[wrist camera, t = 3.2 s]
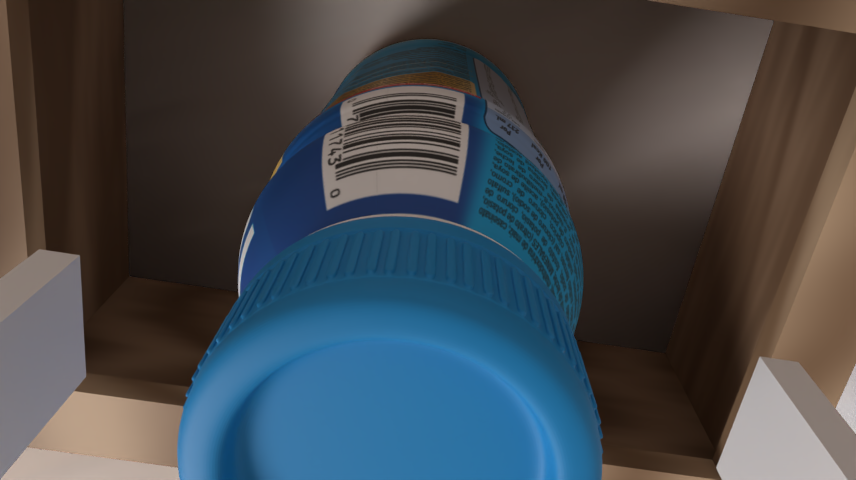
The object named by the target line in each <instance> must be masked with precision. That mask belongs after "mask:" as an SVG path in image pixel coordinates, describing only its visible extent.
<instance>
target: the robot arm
mask: <svg viewBox="0 0 856 480" xmlns="http://www.w3.org/2000/svg"><path fill="white" fill-rule="evenodd" d="M85 377H86V364H85V344H84V325H83V306H82V287H81V268H80V255H75V254H68V253H61V252H55V251H48V250H41V249H39V250H38V251H36V252H35V253H34V254H32V255H31V256H30V257H28V258H27V259H26V260H24V261H23V262H22V263H20V264H19V265H18V266H16V267H15V268H14V269H12V270H11V271H10V272H8V273H7V274H6V275H4V276H3V277H2V278H0V479H1V478H2V476H3V475H4V474H5V473H6V472H7V470H8V469H9V468H10V467H11V466H12V464H13V463H14V462H15V461H16V460H17V459H18V457H19V456H20V455H21V454H22V453H23V451H24V450H25V449H26V448H27V447H28V445H29V444H30V443H31V442H32V441H33V439H34V438H35V437H36V436H37V435H38V433H39V432H40V431H41V430H42V429H43V428H44V426H45V425H46V424H47V423H48V422H49V420H50V419H51V418H52V417H53V416H54V414H55V413H56V412H57V411H58V410H59V408H60V407H61V406H62V405H63V404H64V402H65V401H66V400H67V399H68V398H69V397H70V395H71V394H72V393H73V392H74V391H75V389H76V388H77V387H78V386H79V385H80V383H81V382H82V381H83V380H84V379H85ZM716 469H717V471H718V473H719V475H720V477H721V479H722V480H856V434H855V433H854V431H853V430H852V429H851V428H850V426H849V425H848V424H847V423H846V421H845V420H844V419H843V418H842V416H841V415H840V414H839V412H838V411H837V410H836V409H835V407H834V406H833V405H832V404H831V402H830V401H829V400H828V399H827V397H826V396H825V395H824V394H823V392H822V391H821V390H820V389H819V387H818V386H817V385H816V384H815V382H814V381H813V380H812V378H811V377H810V376H809V375H808V373H807V372H806V371H805V370H804V368H803V367H802V366H801V365H800V363H799V362H794V361H788V360H781V359H774V358H767V357H761V356H760V357H759V360H758V362H757V365H756V367H755V370H754V372H753V375H752V377H751V380H750V383H749V385H748V388H747V390H746V393H745V395H744V398H743V400H742V403H741V406H740V408H739V411H738V413H737V416H736V418H735V421H734V423H733V426H732V429H731V431H730V434H729V436H728V439H727V441H726V444H725V446H724V449H723V452H722V454H721V457H720V459H719V462H718V464H717V467H716Z"/></svg>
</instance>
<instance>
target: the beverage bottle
mask: <svg viewBox="0 0 856 480" xmlns="http://www.w3.org/2000/svg"><path fill="white" fill-rule="evenodd" d="M238 293H239V298H238V300H237V301H236V302H235V304H234V305H233V307H232V309H231V311H230V312H229V314H228V315H227V316H226V318H225V320H224V322H223V323H222V325H221V327H220V328H219V330H218V332H217V334H216V335H215V337H214V339H213V340H212V342H211V344H210V346H209V347H208V349H207V351H206V352H205V354H204V356H203V358H202V359H201V361H200V363H199V364H198V368H197V370H196V371H195V373H194V375H193V377H192V381H193V382H192V384H191V386H190V387H189V389H188V391H187V393H186V397H188V398H187V400H186V402H185V404H184V406H183V413H182V417H181V421H180V426H179V433H178V444H177V459H178V470H179V477H180V480H602V453H603V449H602V445H601V441H600V439H602V438H603V434H602V431H601V428H600V424H601V420H600V417H599V414H598V411H597V404H596V401H595V398H594V395H593V392H592V388H591V385H590V382H589V379H588V375H587V372H586V369H585V366H584V363H583V359H582V356H581V353H580V351H579V348H578V345H577V342H576V339H575V337H574V332H575V329H576V325H577V322H578V318H579V313H580V308H581V302H582V295H583V261H582V254H581V248H580V243H579V239H578V235H577V232H576V229H575V226H574V223H573V221H572V218H571V216H570V212H569V207H568V202H567V199H566V195H565V191H564V188H563V185H562V183H561V180H560V178H559V175H558V173H557V171H556V169H555V167H554V165H553V163H552V161H551V159H550V158H549V156H548V154H547V153H546V151H545V150H544V148H543V147H542V146H541V144H540V143H539V142H538V140H537V139H536V138H535V136H534V134H533V131H532V129H531V127H530V125H529V122H528V120H527V116H526V113H525V110H524V107H523V105H522V102H521V100H520V98H519V96H518V94H517V92H516V90H515V89H514V87H513V85H512V84H511V82H510V81H509V80H508V78H507V77H506V76H505V75H504V74H503V73H502V71H501V70H500V69H499V68H498V67H496V66H495V65H494V64H493V63H492V62H491V61H489V60H488V59H487V58H485V57H484V56H482V55H481V54H479V53H477V52H475V51H474V50H471V49H469V48H467V47H465V46H462V45H459V44H456V43H453V42H448V41H443V40H436V39H416V40H409V41H404V42H399V43H396V44H393V45H390V46H387V47H385V48H383V49H381V50H379V51H377V52H375V53H373V54H372V55H370V56H369V57H367V58H366V59H364V60H363V61H362V62H360V63H359V64H358V65H357V66H356V67H355V68H354V69H353V70H352V71H351V72H350V73H349V74H348V75H347V77H346V78H345V79H344V81H343V82H342V83H341V85H340V86H339V88H338V89H337V91H336V93H335V94H334V96H333V98H332V99H331V100H330V102H329V103H328V104H327V106H326V107H325V108H324V110H323V111H322V112H321V114H319V115H318V116H317V117H316V118H314V119H313V120H312V121H311V122H310V123H309V124H308V125H307V126H306V127H305V128H304V129H303V130H302V131H301V132H300V133H299V134H298V135H297V136H296V137H295V138H294V140H293V141H292V142H291V144H290V145H289V146H288V148H287V149H286V151H285V152H284V154H283V155H282V157H281V159H280V160H279V162H278V164H277V166H276V168H275V170H274V172H273V174H272V176H271V179H270V181H269V182H268V183H267V185H266V186H265V188H264V189H263V191H262V192H261V194H260V196H259V197H258V199H257V201H256V203H255V205H254V207H253V209H252V211H251V213H250V216H249V218H248V221H247V224H246V227H245V230H244V234H243V238H242V242H241V247H240V254H239V263H238Z"/></svg>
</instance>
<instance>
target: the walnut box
mask: <svg viewBox="0 0 856 480" xmlns="http://www.w3.org/2000/svg"><path fill="white" fill-rule="evenodd" d="M649 1H655V2H661V3H668V4H674V5H680V6H687V7H693V8H699V9H705V10H712V11H718V12H724V13H731V14H737V15H743V16H749V17H756V18H762V19H768V20H774V23H773V26H772V29H771V32H770V35H769V38H768V41H767V44H766V47H765V50H764V53H763V56H762V60H761V63H760V66H759V69H758V72H757V75H756V78H755V81H754V84H753V87H752V90H751V93H750V96H749V99H748V102H747V105H746V108H745V111H744V114H743V118H742V121H741V124H740V127H739V130H738V133H737V136H736V139H735V142H734V145H733V148H732V151H731V154H730V157H729V160H728V163H727V166H726V169H725V172H724V175H723V179H722V182H721V185H720V188H719V191H718V194H717V197H716V200H715V203H714V206H713V209H712V212H711V215H710V218H709V221H708V224H707V227H706V230H705V233H704V237H703V240H702V243H701V246H700V249H699V252H698V255H697V258H696V261H695V264H694V267H693V270H692V273H691V276H690V279H689V282H688V285H687V288H686V291H685V295H684V298H683V301H682V304H681V307H680V310H679V313H678V316H677V319H676V322H675V325H674V328H673V331H672V334H671V337H670V340H669V343H668V346H667V349H666V352H665V353H661V352H654V351H647V350H640V349H633V348H626V347H619V346H612V345H605V344H598V343H591V342H584V341H577V340H576V342H577V345H578V348H579V351H580V353H581V356H582V359H583V363H584V366H585V369H586V372H587V375H588V379H589V382H590V385H591V388H592V392H593V395H594V398H595V401H596V404H597V411H598V414H599V417H600V420H601V424H600V428H601V431H602V434H603V438H602V439H600V441H601V445H602V449H603V453H602V480H722V479H721V477H720V475H719V473H718V471H717V469H716V467H717V464H718V462H719V459H720V457H721V454H722V452H723V449H724V446H725V444H726V441H727V439H728V436H729V434H730V431H731V429H732V426H733V423H734V421H735V418H736V416H737V413H738V411H739V408H740V406H741V403H742V400H743V398H744V395H745V393H746V390H747V388H748V385H749V383H750V380H751V377H752V375H753V372H754V370H755V367H756V365H757V362H758V360H759V357H760V356H761V357H767V358H774V359H781V360H788V361H794V362H799V363H800V365H801V366H802V367H803V368H804V370H805V371H806V372H807V373H808V375H809V376H810V377H811V378H812V380H813V381H814V382H815V384H816V385H817V386H818V387H819V389H820V390H821V391H822V392H823V394H824V395H825V396H826V397H827V399H828V400H829V401H830V402H831V404H832V405H833V406H834V407H835V408H836V406H837V404H838V401H839V399H840V397H841V395H842V393H843V390H844V388H845V386H846V384H847V382H848V379H849V377H850V375H851V373H852V371H853V368H854V366H855V364H856V0H649ZM39 249H41V250H48V251H55V252H61V253H68V254H75V255H80V268H81V287H82V306H83V325H84V344H85V364H86V377H85V379H84V380H83V381H82V382H81V383H80V385H79V386H78V387H77V388H76V389H75V391H74V392H73V393H72V394H71V395H70V397H69V398H68V399H67V400H66V401H65V402H64V404H63V405H62V406H61V407H60V408H59V410H58V411H57V412H56V413H55V414H54V416H53V417H52V418H51V419H50V420H49V422H48V423H47V424H46V425H45V426H44V428H43V429H42V430H41V431H40V432H39V433H38V435H37V436H36V437H35V438H34V439H33V441H32V442H31V443H30V444H29V445H28V447H30V448H37V449H45V450H52V451H59V452H67V453H74V454H82V455H89V456H96V457H104V458H111V459H119V460H126V461H134V462H141V463H148V464H156V465H163V466H171V467H178V459H177V444H178V433H179V426H180V421H181V417H182V413H183V406H184V404H185V402H186V400H187V398H188V397H186V393H187V391H188V389H189V387H190V386H191V384H192V382H193V381H192V377H193V375H194V373H195V371H196V370H197V368H198V364H199V363H200V361H201V359H202V358H203V356H204V354H205V352H206V351H207V349H208V347H209V346H210V344H211V342H212V340H213V339H214V337H215V335H216V334H217V332H218V330H219V328H220V327H221V325H222V323H223V322H224V320H225V318H226V316H227V315H228V314H229V312H230V311H231V309H232V307H233V305H234V304H235V302H236V301H237V300H238V298H239V293H238V292H235V291H228V290H221V289H214V288H207V287H200V286H193V285H186V284H179V283H172V282H165V281H158V280H151V279H144V278H137V277H130V276H129V247H128V201H127V155H126V109H125V63H124V16H123V0H0V278H2V277H3V276H4V275H6V274H7V273H8V272H10V271H11V270H12V269H14V268H15V267H16V266H18V265H19V264H20V263H22V262H23V261H24V260H26V259H27V258H28V257H30V256H31V255H32V254H34V253H35V252H36V251H38V250H39Z"/></svg>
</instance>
